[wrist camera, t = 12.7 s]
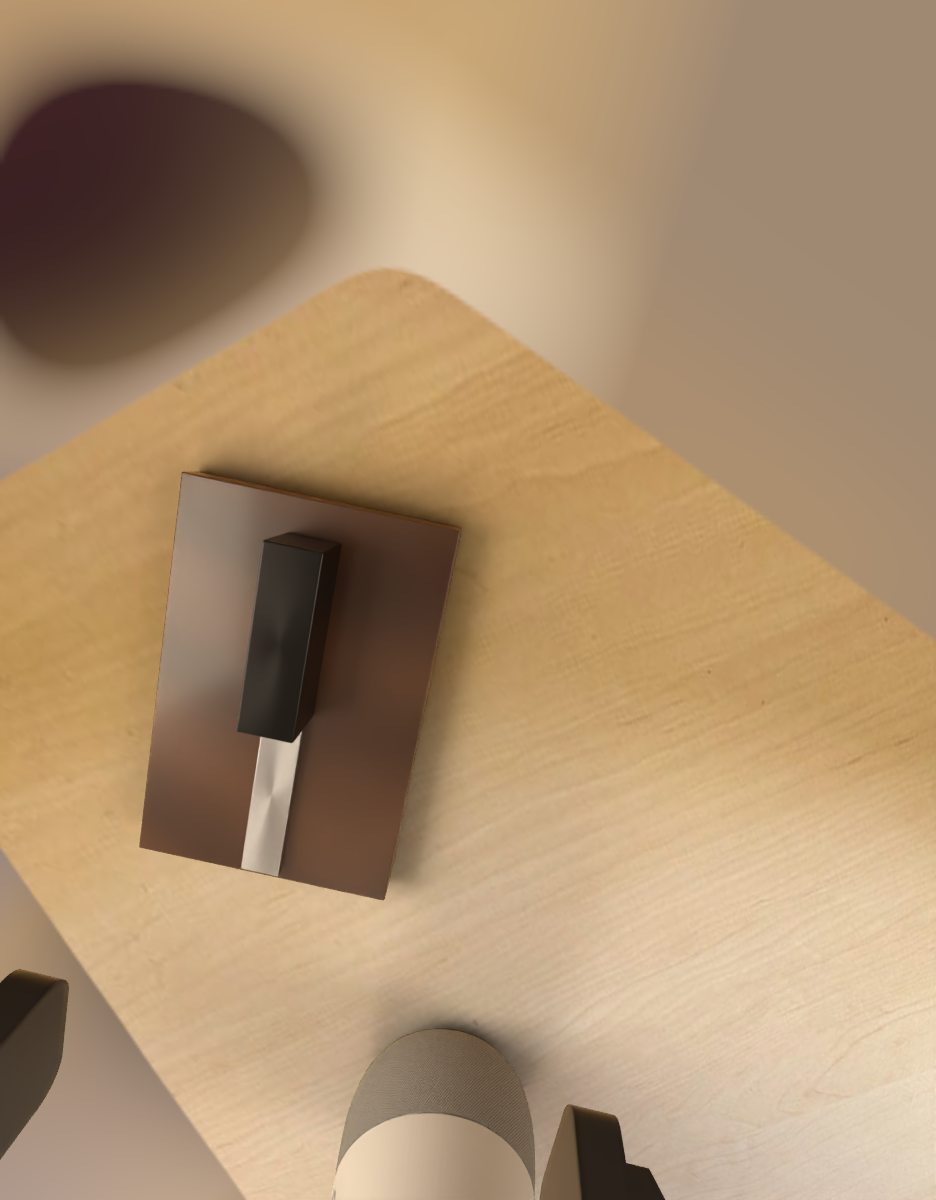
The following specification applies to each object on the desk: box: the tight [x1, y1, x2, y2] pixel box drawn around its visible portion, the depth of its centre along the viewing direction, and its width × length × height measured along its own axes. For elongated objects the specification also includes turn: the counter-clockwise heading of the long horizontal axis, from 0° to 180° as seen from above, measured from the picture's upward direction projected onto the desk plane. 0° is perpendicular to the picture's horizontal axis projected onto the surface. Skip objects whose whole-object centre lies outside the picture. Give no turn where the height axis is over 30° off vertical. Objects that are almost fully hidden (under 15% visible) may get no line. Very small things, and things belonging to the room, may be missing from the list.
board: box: [139, 472, 462, 900], centre depth 30 cm, size 18×12×2 cm, turn 168°
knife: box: [236, 532, 342, 876], centre depth 28 cm, size 16×2×3 cm, turn 168°
